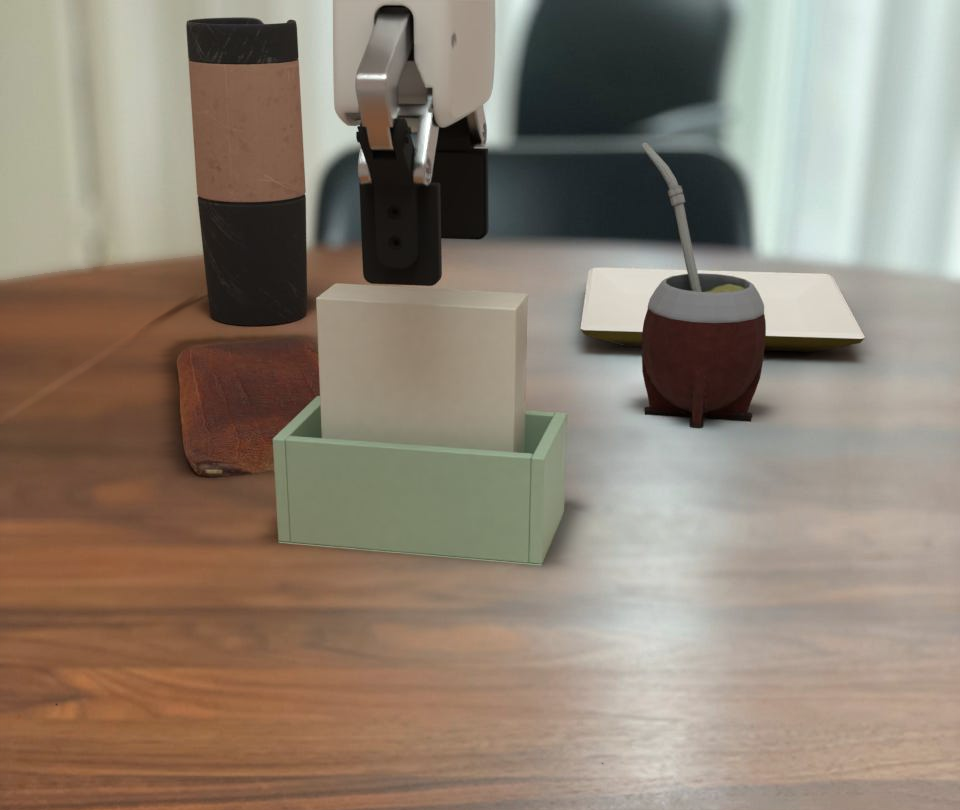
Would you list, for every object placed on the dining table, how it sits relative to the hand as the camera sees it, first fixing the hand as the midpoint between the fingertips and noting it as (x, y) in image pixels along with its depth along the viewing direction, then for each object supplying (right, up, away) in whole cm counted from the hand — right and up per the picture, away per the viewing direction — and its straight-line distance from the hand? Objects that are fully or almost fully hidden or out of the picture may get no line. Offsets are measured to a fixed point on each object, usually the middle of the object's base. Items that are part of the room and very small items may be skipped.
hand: (430, 258), depth 66 cm
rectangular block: (0, -11, +6) cm, 13 cm away
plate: (+19, +6, +42) cm, 47 cm away
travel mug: (-14, +7, +45) cm, 47 cm away
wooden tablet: (-11, -3, +24) cm, 26 cm away
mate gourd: (+15, -4, +23) cm, 27 cm away
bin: (0, -12, +6) cm, 13 cm away
